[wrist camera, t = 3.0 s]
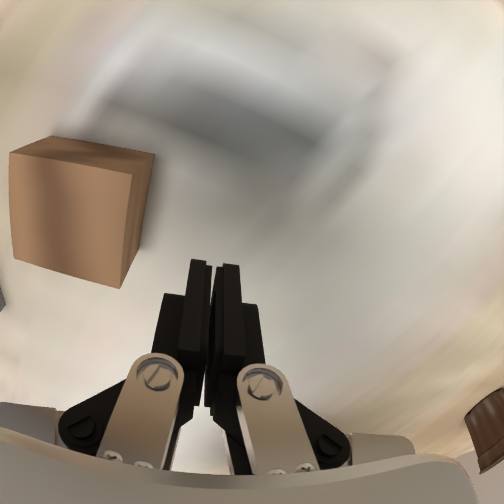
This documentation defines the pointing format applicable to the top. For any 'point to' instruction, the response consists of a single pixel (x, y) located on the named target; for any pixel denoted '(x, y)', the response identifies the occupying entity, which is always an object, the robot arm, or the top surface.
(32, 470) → the robot arm
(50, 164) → the walnut block
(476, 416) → the plant pot
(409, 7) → the top surface
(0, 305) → the board
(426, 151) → the top surface
